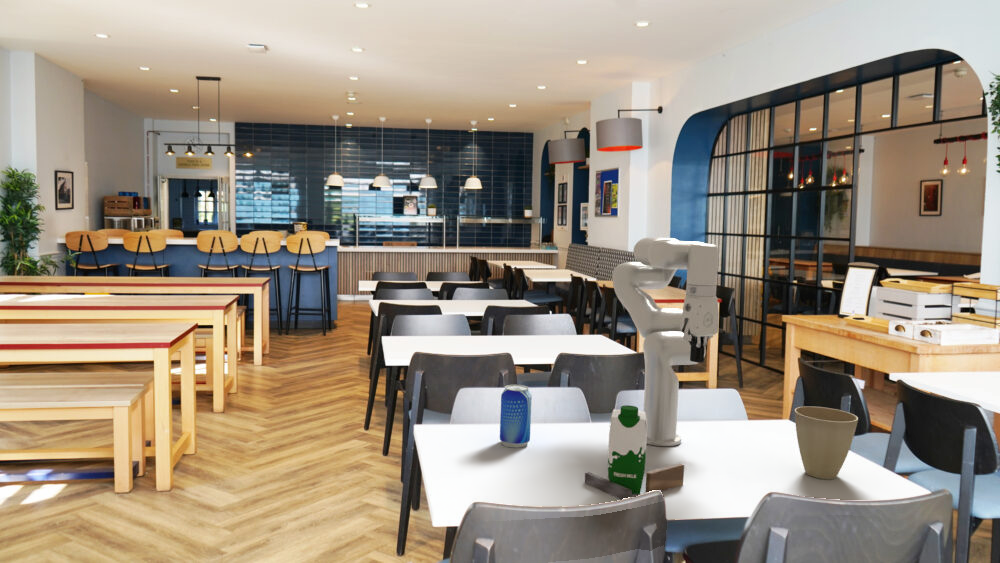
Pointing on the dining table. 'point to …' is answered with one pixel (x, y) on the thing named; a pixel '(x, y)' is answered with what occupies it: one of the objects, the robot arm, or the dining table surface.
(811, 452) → the plant pot
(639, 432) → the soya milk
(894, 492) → the dining table surface
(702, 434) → the dining table surface
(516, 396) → the beer can
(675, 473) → the wooden planks
